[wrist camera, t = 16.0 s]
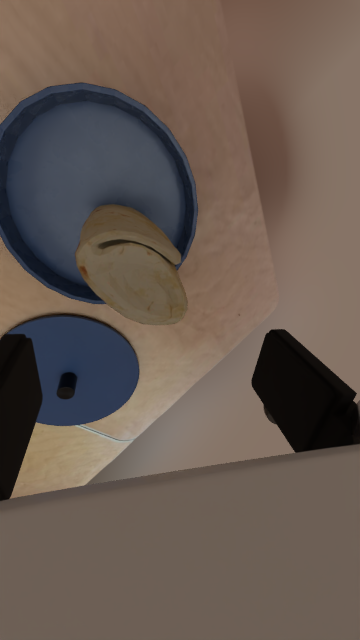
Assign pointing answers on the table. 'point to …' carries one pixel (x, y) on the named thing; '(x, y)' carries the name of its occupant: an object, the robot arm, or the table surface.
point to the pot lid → (80, 368)
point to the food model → (131, 265)
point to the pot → (86, 177)
